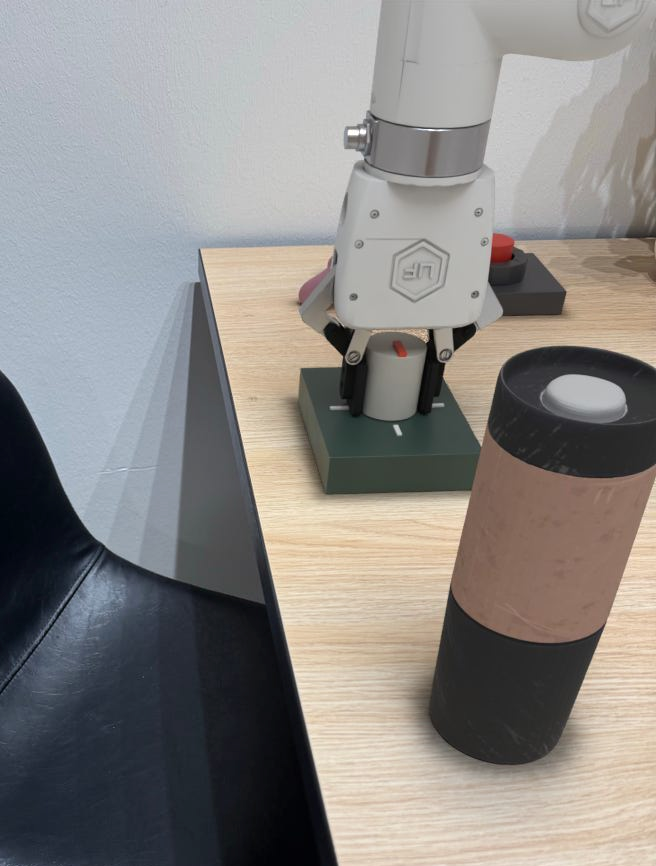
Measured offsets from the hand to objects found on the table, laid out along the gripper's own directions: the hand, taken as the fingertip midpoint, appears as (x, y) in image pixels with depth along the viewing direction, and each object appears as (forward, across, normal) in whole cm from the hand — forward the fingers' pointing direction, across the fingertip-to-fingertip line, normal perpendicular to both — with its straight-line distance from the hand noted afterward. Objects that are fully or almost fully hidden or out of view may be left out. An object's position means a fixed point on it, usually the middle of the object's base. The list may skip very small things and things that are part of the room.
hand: (387, 403), depth 78 cm
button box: (+3, +16, +28) cm, 32 cm away
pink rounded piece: (+4, +2, +29) cm, 29 cm away
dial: (0, 0, 0) cm, 0 cm away
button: (0, +16, +28) cm, 32 cm away
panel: (+3, 0, 0) cm, 3 cm away
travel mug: (+4, 0, -30) cm, 30 cm away
